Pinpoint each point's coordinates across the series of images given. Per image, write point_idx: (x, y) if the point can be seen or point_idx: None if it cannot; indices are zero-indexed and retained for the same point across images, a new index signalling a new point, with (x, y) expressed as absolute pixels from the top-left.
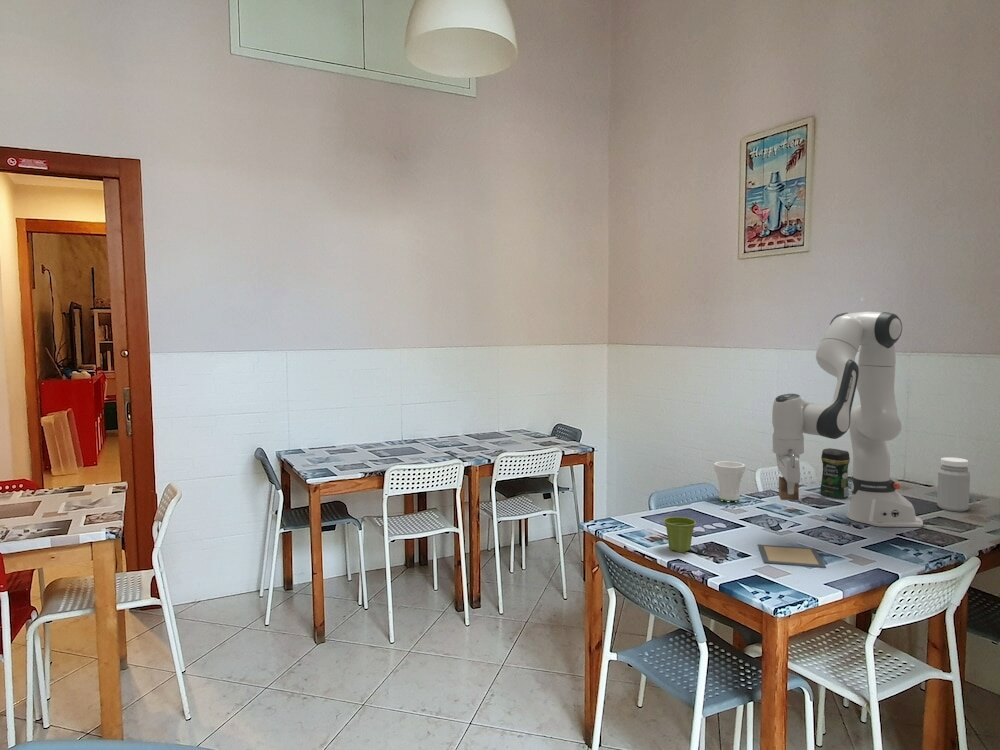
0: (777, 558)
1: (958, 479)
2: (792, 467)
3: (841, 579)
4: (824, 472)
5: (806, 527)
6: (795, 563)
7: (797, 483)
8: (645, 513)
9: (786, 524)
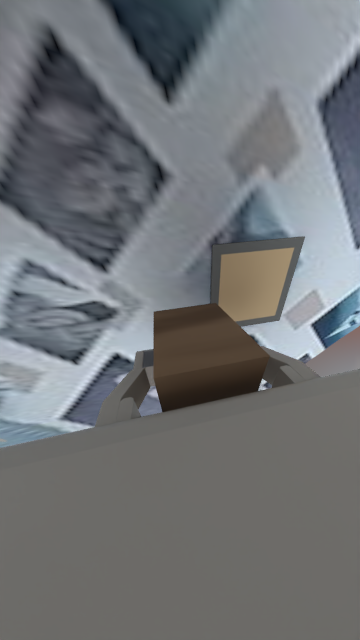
0: (267, 306)
1: None
2: (79, 510)
3: (351, 217)
4: None
5: (49, 248)
6: (287, 283)
7: (256, 348)
8: None
9: (54, 292)
